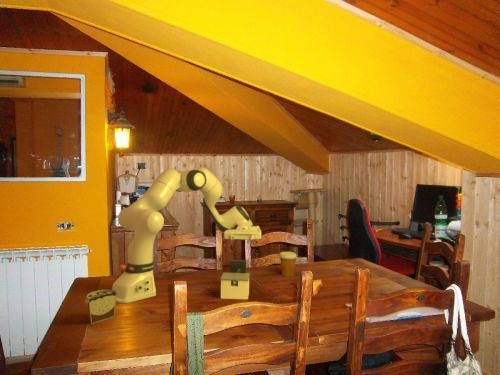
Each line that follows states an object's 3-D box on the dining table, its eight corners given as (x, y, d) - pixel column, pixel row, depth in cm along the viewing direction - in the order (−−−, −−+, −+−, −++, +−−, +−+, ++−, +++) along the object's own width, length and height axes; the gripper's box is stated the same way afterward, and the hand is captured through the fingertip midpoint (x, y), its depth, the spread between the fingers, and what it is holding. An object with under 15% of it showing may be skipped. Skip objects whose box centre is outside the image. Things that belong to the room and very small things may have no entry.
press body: (223, 291, 183) (223, 272, 182) (249, 292, 182) (249, 273, 182) (220, 298, 172) (220, 278, 172) (248, 299, 172) (248, 279, 171)
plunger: (229, 282, 190) (229, 259, 190) (245, 282, 190) (246, 260, 190) (225, 293, 174) (225, 268, 173) (243, 293, 173) (243, 269, 173)
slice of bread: (308, 297, 177) (308, 289, 177) (285, 286, 192) (285, 279, 192) (338, 291, 186) (338, 283, 186) (313, 281, 201) (314, 274, 201)
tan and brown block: (109, 311, 155) (109, 287, 154) (117, 315, 151) (117, 290, 150) (79, 320, 145) (78, 294, 145) (87, 325, 141) (87, 298, 141)
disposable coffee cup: (297, 277, 207) (297, 255, 206) (279, 277, 207) (279, 255, 207) (295, 273, 216) (296, 251, 216) (278, 272, 217) (278, 251, 216)
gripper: (225, 226, 215) (221, 233, 202) (261, 225, 214) (260, 232, 200) (225, 237, 216) (221, 244, 203) (262, 236, 215) (260, 244, 201)
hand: (241, 238), depth 201 cm, fingers open, 8 cm apart
